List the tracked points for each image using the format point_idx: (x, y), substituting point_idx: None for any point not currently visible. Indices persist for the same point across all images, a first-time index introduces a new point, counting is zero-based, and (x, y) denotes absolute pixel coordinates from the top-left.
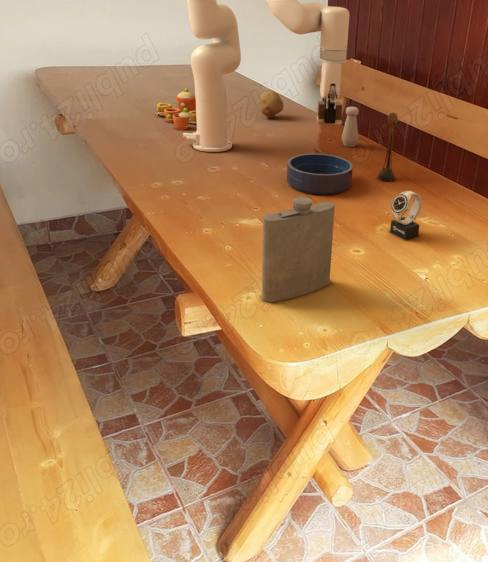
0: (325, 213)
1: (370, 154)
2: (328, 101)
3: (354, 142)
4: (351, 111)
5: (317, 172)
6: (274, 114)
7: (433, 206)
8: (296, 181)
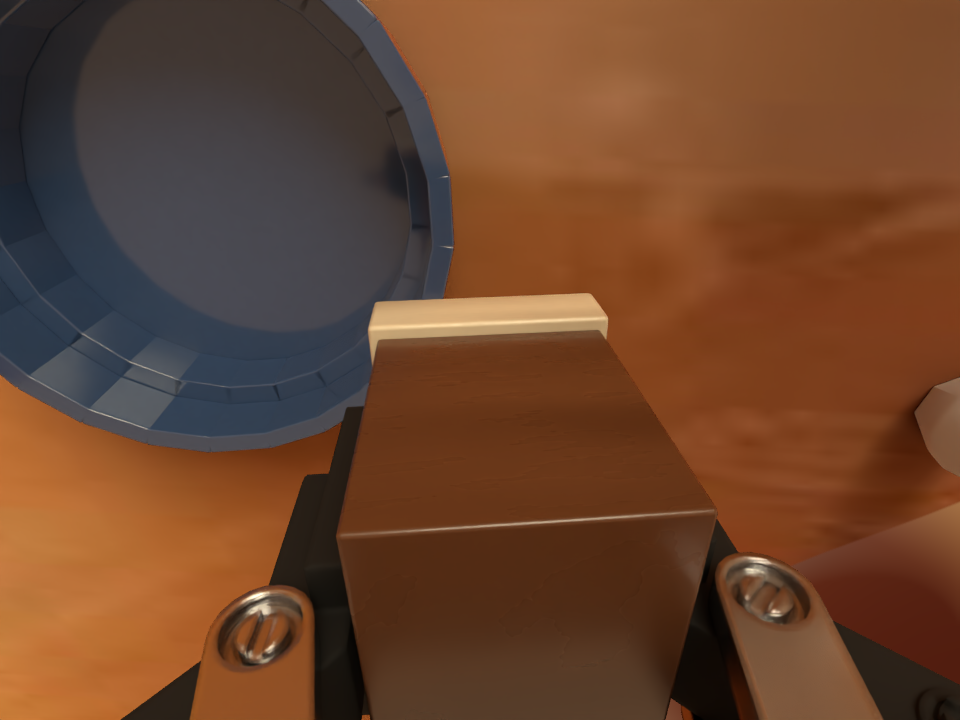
0: None
1: (775, 493)
2: (723, 678)
3: (926, 444)
4: None
5: (405, 191)
6: None
7: (109, 663)
8: None
